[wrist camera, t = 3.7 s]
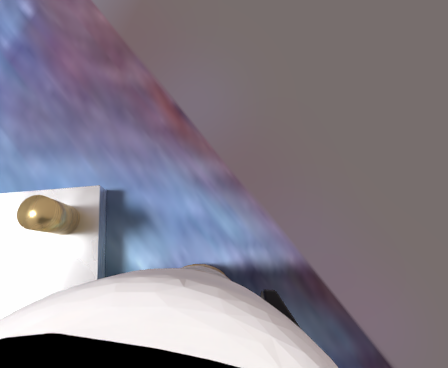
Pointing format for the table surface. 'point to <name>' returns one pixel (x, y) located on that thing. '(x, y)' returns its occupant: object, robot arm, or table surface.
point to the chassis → (50, 242)
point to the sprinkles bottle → (156, 326)
